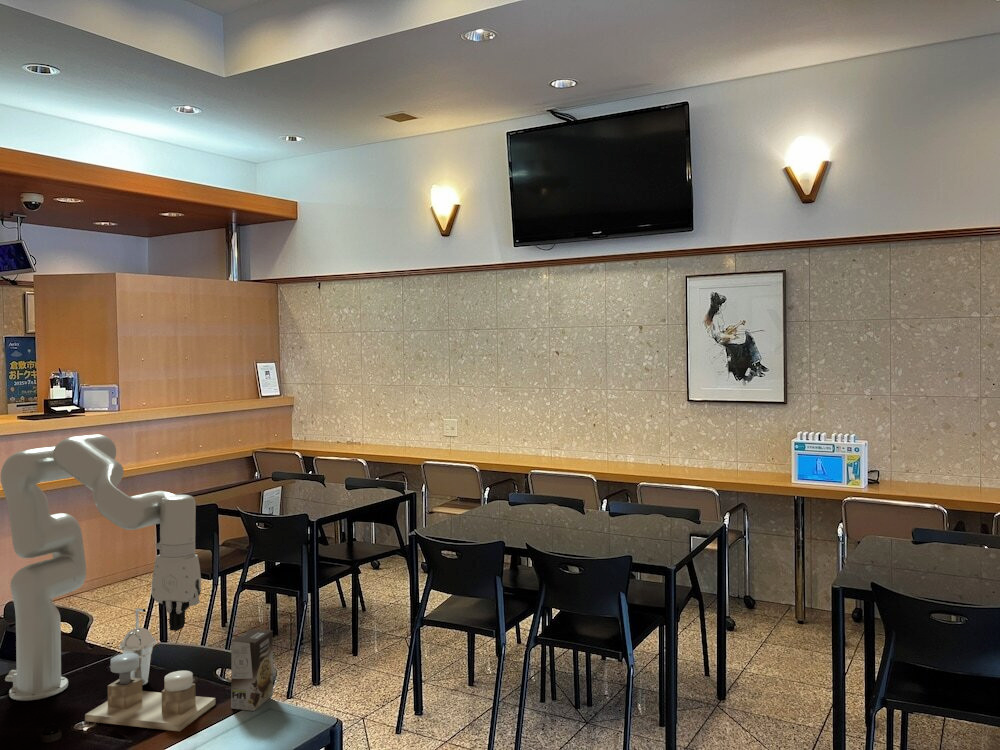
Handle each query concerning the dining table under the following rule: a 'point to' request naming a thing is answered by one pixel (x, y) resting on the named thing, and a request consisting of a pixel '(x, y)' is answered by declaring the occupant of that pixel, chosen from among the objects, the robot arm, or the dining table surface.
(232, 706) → the coffee box
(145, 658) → the cup with straw
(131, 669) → the knob
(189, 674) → the knob
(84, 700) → the dining table surface
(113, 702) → the wooden mounting board
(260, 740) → the dining table surface
